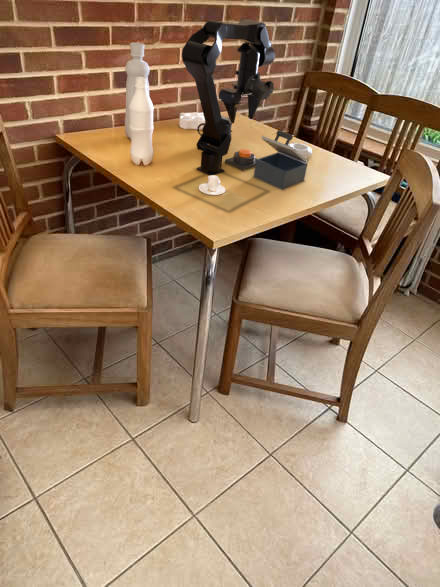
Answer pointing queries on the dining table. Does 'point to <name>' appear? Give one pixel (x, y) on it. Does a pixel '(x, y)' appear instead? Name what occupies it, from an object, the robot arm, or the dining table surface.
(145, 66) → the bottle
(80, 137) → the dining table surface
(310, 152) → the donut
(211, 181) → the teacup and saucer
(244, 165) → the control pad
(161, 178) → the dining table surface
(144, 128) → the water bottle
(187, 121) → the white egg tray
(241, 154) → the button
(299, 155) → the grey box lid
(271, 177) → the dark grey case
